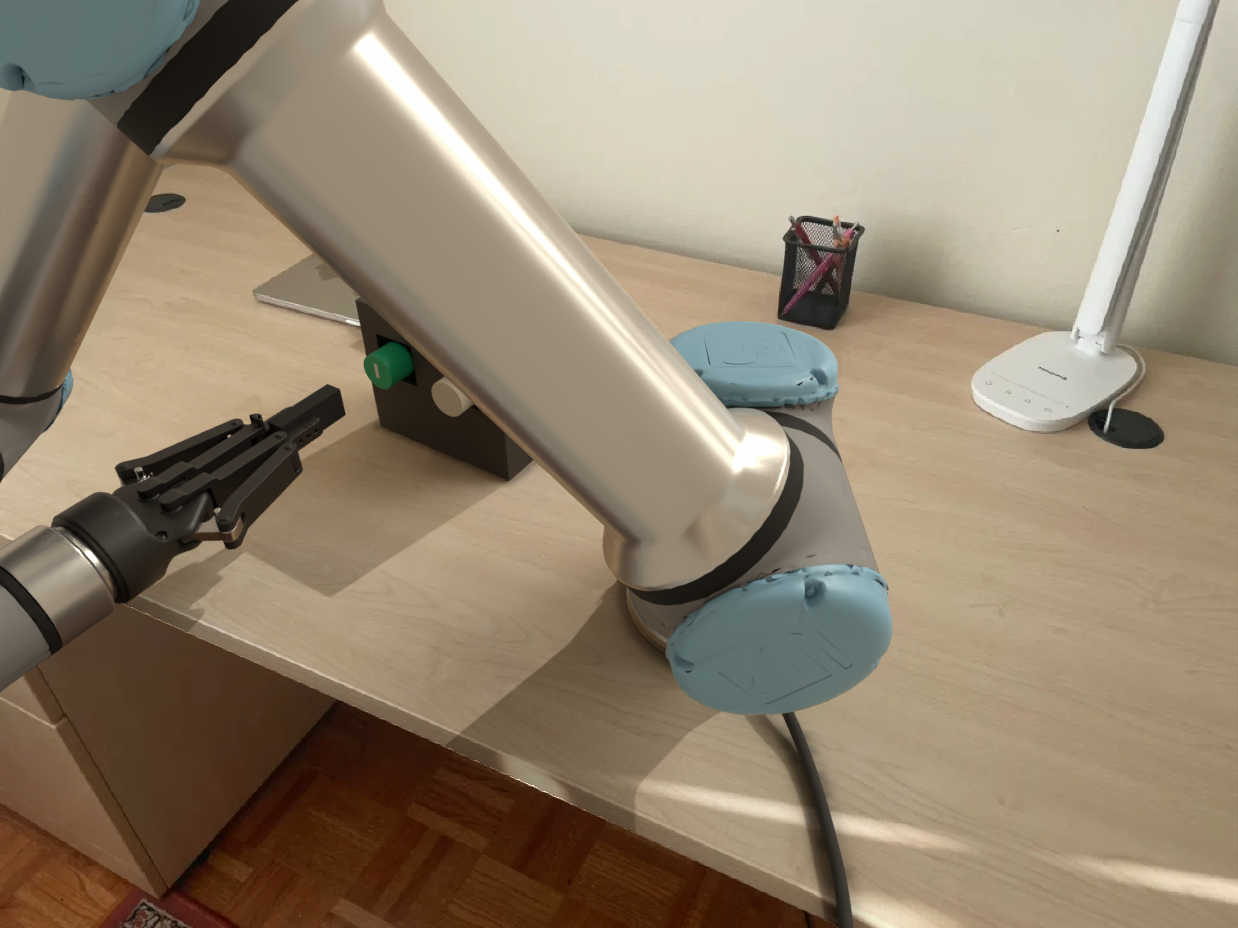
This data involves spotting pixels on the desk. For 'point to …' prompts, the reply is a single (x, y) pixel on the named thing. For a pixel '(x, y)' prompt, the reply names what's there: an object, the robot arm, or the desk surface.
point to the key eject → (450, 398)
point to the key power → (388, 365)
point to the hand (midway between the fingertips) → (336, 399)
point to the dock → (436, 410)
